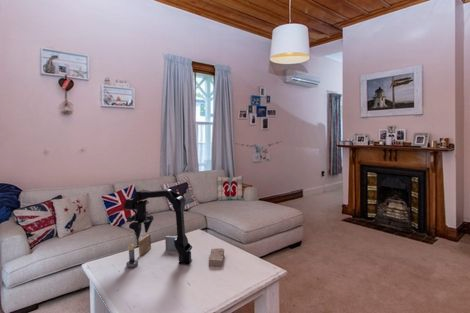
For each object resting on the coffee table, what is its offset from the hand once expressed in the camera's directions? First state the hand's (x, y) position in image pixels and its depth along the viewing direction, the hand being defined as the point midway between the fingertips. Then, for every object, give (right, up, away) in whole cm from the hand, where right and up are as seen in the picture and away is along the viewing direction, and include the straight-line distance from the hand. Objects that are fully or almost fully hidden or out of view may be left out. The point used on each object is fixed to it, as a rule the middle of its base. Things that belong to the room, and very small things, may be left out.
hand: (142, 235), depth 175 cm
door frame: (+11, -13, +14) cm, 22 cm away
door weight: (-3, -16, -9) cm, 18 cm away
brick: (+47, -15, -3) cm, 49 cm away
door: (-1, -14, +10) cm, 17 cm away
